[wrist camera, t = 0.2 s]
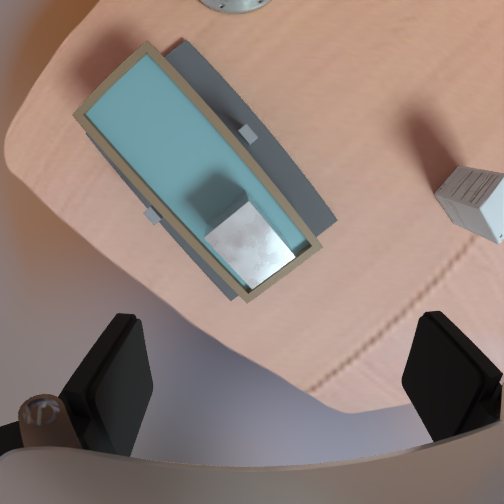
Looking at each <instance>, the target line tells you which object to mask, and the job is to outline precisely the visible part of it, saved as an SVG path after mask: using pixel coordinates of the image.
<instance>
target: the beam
mask: <svg viewBox="0 0 504 504" xmlns="http://www.w3.org/2000/svg"><path fill="white" fill-rule="evenodd" d="M72 115H73V117H74V118H75V119H76V120H77V121H78V122H79V124H80V125H81V126H82V127H83V128H84V129H85V131H86V132H87V133H88V134H89V135H90V136H91V137H92V139H93V140H94V141H95V142H96V143H97V144H98V145H99V147H100V148H101V149H102V150H103V151H104V152H105V153H106V155H107V156H108V157H109V158H110V159H111V160H112V161H113V162H114V164H115V165H116V166H117V167H118V168H119V169H120V170H121V171H122V172H123V174H124V175H125V176H126V177H127V178H128V179H129V180H130V181H131V182H132V184H133V185H134V186H135V187H136V188H137V189H138V190H139V191H140V192H141V193H142V194H143V196H144V197H145V198H146V199H147V200H148V201H149V202H150V203H151V204H152V205H153V206H154V207H155V209H156V210H157V211H158V212H159V213H160V214H161V215H162V216H163V217H164V218H165V219H166V220H167V221H168V222H169V224H170V225H171V226H172V227H173V228H174V229H175V230H176V231H177V232H178V233H179V234H180V235H181V236H182V237H183V238H184V239H185V240H186V241H187V243H188V244H189V245H190V246H191V247H192V248H193V249H194V250H195V251H196V252H197V253H198V254H199V255H200V256H201V257H202V258H203V259H204V260H205V261H206V262H207V263H208V264H209V265H210V266H211V267H212V268H213V269H214V270H215V271H216V273H217V274H218V275H219V276H220V277H221V278H222V279H223V280H224V281H225V282H226V283H227V284H228V285H229V286H230V287H231V288H232V289H233V290H234V291H235V292H236V293H237V294H238V295H239V296H240V297H241V298H242V299H243V300H244V301H245V302H246V303H249V302H250V301H251V300H253V299H254V298H255V297H257V296H258V295H260V294H261V293H262V292H264V291H265V290H266V289H268V288H269V287H270V286H272V285H273V284H275V283H276V282H277V281H279V280H280V279H281V278H283V277H284V276H285V275H287V274H288V273H289V272H291V271H292V270H293V269H295V268H296V267H297V266H299V265H300V264H301V263H303V262H304V261H305V260H307V259H308V258H309V257H311V256H312V255H313V254H315V253H316V252H317V251H319V250H320V249H321V248H323V246H322V245H321V243H320V242H319V241H318V239H317V238H316V237H315V235H314V234H313V233H312V231H311V230H310V229H309V228H308V226H307V225H306V224H305V222H304V221H303V220H302V218H301V217H300V216H299V215H298V213H297V212H296V211H295V209H294V208H293V207H292V206H291V204H290V203H289V202H288V201H287V199H286V198H285V197H284V195H283V194H282V193H281V192H280V190H279V189H278V188H277V187H276V185H275V184H274V183H273V182H272V181H271V179H270V178H269V177H268V176H267V174H266V173H265V172H264V171H263V169H262V168H261V167H260V166H259V165H258V163H257V162H256V161H255V160H254V159H253V157H252V156H251V155H250V154H249V152H248V151H247V150H246V149H245V148H244V147H243V145H242V144H241V143H240V142H239V141H238V139H237V138H236V137H235V136H234V135H233V134H232V132H231V131H230V130H229V129H228V128H227V127H226V125H225V124H224V123H223V122H222V121H221V120H220V118H219V117H218V116H217V115H216V114H215V113H214V112H213V110H212V109H211V108H210V107H209V106H208V105H207V104H206V103H205V101H204V100H203V99H202V98H201V97H200V96H199V95H198V94H197V92H196V91H195V90H194V89H193V88H192V87H191V86H190V85H189V84H188V83H187V81H186V80H185V79H184V78H183V77H182V76H181V75H180V74H179V73H178V72H177V71H176V69H175V68H174V67H173V66H172V65H171V64H170V63H169V62H168V61H167V60H166V59H165V58H164V57H163V56H162V55H161V54H160V52H159V51H158V50H157V49H156V48H155V47H154V46H153V45H152V44H151V43H150V42H149V41H146V42H145V43H144V44H143V45H142V46H140V47H139V48H138V49H137V50H136V51H135V52H134V53H132V54H131V55H130V56H129V57H128V58H127V59H126V60H125V61H124V62H123V63H122V64H120V65H119V66H118V67H117V68H116V69H115V70H114V71H113V72H112V73H111V74H110V75H109V76H108V77H107V78H106V79H105V80H104V81H103V82H102V83H101V84H100V85H99V86H98V87H97V88H96V89H95V90H94V91H93V92H92V93H91V94H90V96H89V97H88V98H87V99H86V100H85V101H84V102H83V103H82V104H81V105H80V106H79V108H78V109H77V110H76V111H75V112H74V113H73V114H72ZM245 191H247V193H248V194H249V195H250V196H251V197H252V199H253V200H254V201H255V202H256V203H257V204H258V206H259V207H260V208H261V209H262V210H263V212H264V213H265V214H266V215H267V216H268V218H269V219H270V220H271V221H272V222H273V224H274V225H275V226H276V227H277V228H278V230H279V231H280V232H281V233H282V235H283V236H284V237H285V238H286V239H287V241H288V243H289V245H290V247H291V249H292V251H293V253H294V255H295V258H294V259H292V260H291V261H290V262H288V263H287V264H286V265H284V266H283V267H282V268H280V269H279V270H278V271H276V272H275V273H274V274H272V275H271V276H270V277H268V278H267V279H266V280H264V281H263V282H262V283H260V284H259V285H258V286H256V287H255V288H253V289H252V288H251V287H250V286H249V285H248V284H247V283H246V282H245V281H244V280H243V279H242V278H241V277H240V276H239V275H238V274H237V273H236V272H235V271H234V270H233V269H232V268H231V267H230V265H229V264H228V263H227V262H226V261H225V260H224V259H223V258H222V257H221V256H220V255H219V254H218V253H217V252H216V251H215V250H214V249H213V247H212V246H211V245H210V244H209V243H208V242H207V241H206V240H205V239H204V233H205V227H206V223H207V222H208V221H209V220H211V219H212V218H213V217H214V216H215V215H217V214H218V213H219V212H220V211H221V210H223V209H224V208H225V207H226V206H228V205H229V204H230V203H231V202H232V201H234V200H235V199H236V198H237V197H239V196H240V195H241V194H242V193H244V192H245Z"/></svg>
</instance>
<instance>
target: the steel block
mask: <svg viewBox="0 0 504 504" xmlns="http://www.w3.org/2000/svg"><path fill="white" fill-rule="evenodd" d="M204 239H205V240H206V241H207V242H208V243H209V244H210V245H211V246H212V247H213V249H214V250H215V251H216V252H217V253H218V254H219V255H220V256H221V257H222V258H223V259H224V260H225V261H226V262H227V263H228V264H229V265H230V267H231V268H232V269H233V270H234V271H235V272H236V273H237V274H238V275H239V276H240V277H241V278H242V279H243V280H244V281H245V282H246V283H247V284H248V285H249V286H250V287H251V288H252V289H253V288H255V287H256V286H258V285H259V284H260V283H262V282H263V281H264V280H266V279H267V278H268V277H270V276H271V275H272V274H274V273H275V272H276V271H278V270H279V269H280V268H282V267H283V266H284V265H286V264H287V263H288V262H290V261H291V260H292V259H294V258H295V255H294V253H293V251H292V249H291V247H290V245H289V243H288V241H287V239H286V238H285V237H284V236H283V235H282V233H281V232H280V231H279V230H278V228H277V227H276V226H275V225H274V224H273V222H272V221H271V220H270V219H269V218H268V216H267V215H266V214H265V213H264V212H263V210H262V209H261V208H260V207H259V206H258V204H257V203H256V202H255V201H254V200H253V199H252V197H251V196H250V195H249V194H248V193H247V191H245V192H244V193H242V194H241V195H240V196H239V197H237V198H236V199H235V200H234V201H232V202H231V203H230V204H229V205H228V206H226V207H225V208H224V209H223V210H221V211H220V212H219V213H218V214H217V215H215V216H214V217H213V218H212V219H211V220H209V221H208V222H207V223H206V227H205V233H204Z"/></svg>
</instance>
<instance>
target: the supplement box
mask: <svg viewBox="0 0 504 504" xmlns="http://www.w3.org/2000/svg"><path fill="white" fill-rule="evenodd" d="M434 195H435V197H436V198H437V200H438V201H439V203H440V204H441V205H442V207H443V208H444V210H445V211H446V213H447V214H448V216H449V217H450V219H451V220H452V222H453V223H454V224H455V225H458V226H460V227H462V228H464V229H467V230H469V231H471V232H473V233H475V234H477V235H480V236H482V237H484V238H486V239H488V240H490V241H492V242H494V243H496V244H500V242H501V241H502V240H503V239H504V174H503V173H498V172H493V171H487V170H481V169H475V168H469V167H463V166H457V168H456V169H455V170H454V171H453V172H452V173H451V175H450V176H449V177H448V178H447V179H446V181H445V182H444V183H443V184H442V185H441V186H440V188H439V189H438V190H437V191H436V192H435V194H434Z"/></svg>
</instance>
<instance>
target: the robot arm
mask: <svg viewBox="0 0 504 504" xmlns="http://www.w3.org/2000/svg"><path fill="white" fill-rule="evenodd" d="M200 1H201V2H202V3H203V4H204V5H205V6H207V7H209V8H210V9H212V10H215V11H218V12H222V13H228V14H241V13H247V12H251V11H254V10H257V9H259V8H261V7H263V6H265V5H266V4H267V3H269V2H270V1H271V0H200ZM258 2H261V3H258ZM221 7H224V8H221ZM502 375H503V373H502V372H501V371H500V370H499V369H498V368H497V367H496V366H495V365H494V364H493V363H492V362H491V361H490V360H489V358H488V357H487V356H486V355H485V354H484V353H483V352H482V351H481V350H480V349H479V348H478V347H477V346H476V345H475V344H474V343H473V342H472V341H471V340H470V339H469V338H468V337H467V336H466V335H465V334H464V333H463V332H462V331H461V330H460V329H459V328H458V327H457V326H456V325H455V324H454V323H453V322H451V321H450V320H449V319H448V318H447V317H446V316H445V315H444V314H443V313H442V312H441V311H431V312H425V313H424V314H423V316H421V317H420V318H419V321H418V324H417V328H416V332H415V336H414V339H413V343H412V346H411V350H410V353H409V357H408V360H407V363H406V366H405V370H404V373H403V376H402V386H403V388H404V390H405V391H406V393H407V395H408V397H409V398H410V400H411V402H412V404H413V405H414V407H415V409H416V411H417V412H418V414H419V416H420V418H421V419H422V422H423V423H424V425H425V427H426V429H427V431H428V432H429V434H430V436H431V438H432V440H433V443H429V444H425V445H421V446H417V447H413V448H409V449H405V450H400V451H396V452H391V453H386V454H381V455H375V456H370V457H364V458H358V459H351V460H344V461H336V462H327V463H318V464H308V465H293V466H292V465H291V466H269V467H268V466H267V467H229V466H207V465H193V464H182V463H171V462H162V461H153V460H146V459H139V458H133V457H130V455H131V452H132V449H133V446H134V443H135V440H136V438H137V435H138V432H139V429H140V426H141V423H142V420H143V417H144V415H145V412H146V409H147V406H148V403H149V400H150V397H151V395H152V392H153V381H152V376H151V371H150V366H149V361H148V356H147V351H146V345H145V340H144V334H143V328H142V322H141V320H140V319H136V316H135V315H134V314H122V313H118V314H116V316H115V317H114V318H113V320H112V321H111V322H110V324H109V325H108V326H107V328H106V329H105V330H104V332H103V333H102V334H101V336H100V337H99V338H98V340H97V341H96V343H95V344H94V345H93V347H92V348H91V350H90V351H89V352H88V354H87V355H86V357H85V358H84V359H83V361H82V362H81V364H80V365H79V367H78V368H77V369H76V371H75V372H74V374H73V375H72V376H71V378H70V380H69V381H68V382H67V384H66V385H65V387H64V388H63V390H62V392H61V393H60V395H59V396H58V397H57V396H54V395H51V394H41V395H36V396H33V397H31V398H29V399H28V400H26V401H25V402H24V403H23V404H22V405H21V407H20V409H19V411H18V420H19V421H16V422H13V423H10V424H7V425H4V426H1V427H0V504H504V383H503V385H501V384H500V383H499V382H500V380H501V377H502Z"/></svg>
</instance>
